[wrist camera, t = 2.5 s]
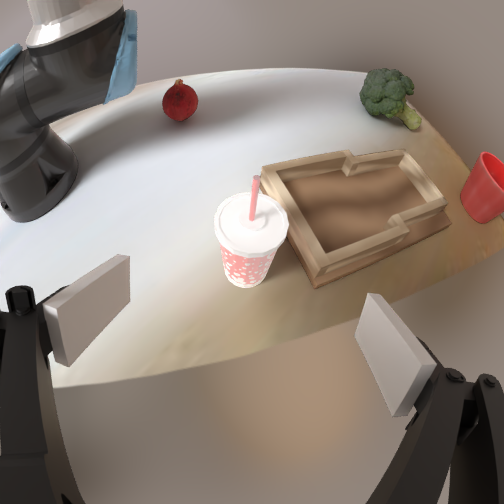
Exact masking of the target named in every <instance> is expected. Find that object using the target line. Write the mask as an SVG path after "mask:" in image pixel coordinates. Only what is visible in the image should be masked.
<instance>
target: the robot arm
mask: <svg viewBox="0 0 504 504" xmlns="http://www.w3.org/2000/svg"><path fill="white" fill-rule="evenodd" d="M27 2H28V6H29V10H30V13H31V16H32V20H33V23H34V24H33V27H32V29H31V31H30V33H29V35H28V37H27V39H26V46H27V48H28V49H26V50H24V51H22V46H20V44H14V45H13V46H11V47H10V48H8V49H7V50H5V51H4V52H3V53H1V54H0V203H1V206H2V208H3V210H4V211H5V212H6V214H7V215H8V216H9V217H10V218H11V219H12V220H13V221H15V222H28V221H31V220H34V219H36V218H38V217H40V216H42V215H43V214H45V213H46V212H48V211H49V210H50V209H52V208H53V207H54V206H55V205H56V204H57V203H58V202H59V201H60V200H61V199H62V198H63V197H64V195H65V194H66V193H67V192H68V190H69V189H70V187H71V185H72V184H73V182H74V180H75V177H76V175H77V171H78V162H77V159H76V157H75V154H74V152H73V150H72V149H71V147H70V146H69V145H68V144H67V143H66V142H64V141H63V140H62V139H61V138H60V137H59V136H58V135H57V134H56V133H55V132H54V131H53V130H52V129H51V128H50V126H49V124H50V123H52V122H55V121H57V120H59V119H62V118H64V117H67V116H69V115H72V114H74V113H77V112H79V111H82V110H85V109H88V108H90V107H93V106H96V105H99V104H102V103H103V105H104V104H106V103H108V102H109V101H111V100H114V99H117V98H120V97H123V96H125V95H128V94H129V93H131V91H132V90H133V89H134V88H135V85H136V82H137V12H136V11H135V10H129V9H128V10H125V12H124V8H123V1H122V0H27ZM5 295H6V300H7V305H8V309H9V312H2V311H0V440H1V456H0V504H85V502H84V500H83V498H82V496H81V494H80V492H79V489H78V487H77V484H76V481H75V478H74V475H73V472H72V469H71V466H70V463H69V460H68V456H67V453H66V449H65V445H64V441H63V437H62V433H61V429H60V425H59V420H58V415H57V410H56V405H55V399H54V393H53V386H52V379H51V371H50V362H49V359H48V354H49V353H50V352H51V351H52V350H53V354H54V358H55V361H56V362H57V363H60V364H62V365H64V366H67V367H70V366H71V365H72V364H73V363H74V361H75V360H76V359H77V358H78V357H79V356H80V355H81V354H82V352H83V351H84V350H85V349H86V348H87V347H88V346H89V345H90V344H91V342H92V341H93V340H94V339H95V338H96V337H97V336H98V335H99V334H100V333H101V332H102V331H103V329H104V328H105V327H106V326H107V325H108V324H109V323H110V322H111V321H112V320H113V319H114V318H115V317H116V316H117V315H118V314H119V312H120V311H121V310H122V309H123V308H124V307H125V306H126V305H127V304H128V303H129V302H130V256H125V255H119V254H117V255H116V256H114V257H113V258H111V259H109V260H108V261H106V262H105V263H103V264H101V265H100V266H98V267H97V268H95V269H94V270H92V271H90V272H89V273H87V274H86V275H84V276H83V277H81V278H80V279H78V280H77V281H75V282H74V283H72V284H71V285H68V286H65V287H62V288H60V289H59V290H57V291H56V292H55V293H53V294H51V295H50V297H49V296H48V297H47V298H45V299H44V300H42V301H41V302H40V303H38V304H37V305H36V303H35V297H34V291H33V289H32V288H31V287H29V286H15V287H12V288H10V289H9V290H7V292H6V293H5ZM354 336H355V338H356V340H357V342H358V344H359V346H360V349H361V351H362V353H363V355H364V357H365V359H366V361H367V363H368V365H369V367H370V369H371V371H372V373H373V376H374V378H375V380H376V382H377V384H378V386H379V389H380V391H381V393H382V395H383V397H384V400H385V402H386V404H387V406H388V408H389V411H390V413H391V415H392V417H398V416H407V415H408V413H409V412H410V410H411V409H412V407H413V405H414V407H415V408H416V410H417V412H416V413H415V415H414V417H413V418H412V419H411V421H410V422H409V424H408V425H407V427H406V428H405V430H407V432H406V434H405V436H404V438H403V440H402V442H401V444H400V446H399V448H398V450H397V452H396V454H395V456H394V458H393V460H392V461H391V463H390V465H389V467H388V469H387V471H386V472H385V474H384V476H383V477H382V479H381V481H380V482H379V484H378V485H377V487H376V489H375V490H374V492H373V493H372V495H371V497H370V498H369V500H368V501H367V503H366V504H437V502H438V499H439V497H440V494H441V491H442V488H443V485H444V482H445V479H446V476H447V473H448V470H449V467H450V487H449V501H448V504H504V393H503V390H502V387H501V385H500V383H499V381H498V380H497V379H496V378H495V377H493V376H492V375H489V374H481V375H480V376H479V377H478V379H477V381H476V382H475V383H471V382H466V379H465V377H464V376H463V375H462V374H461V373H460V372H459V371H457V370H455V369H452V368H444V367H443V366H442V364H441V363H440V362H439V361H438V359H437V358H436V357H435V355H433V353H432V352H431V350H429V348H428V347H427V345H426V344H425V343H424V342H423V341H421V340H420V339H419V338H418V337H415V336H414V334H413V333H412V332H411V331H410V329H409V328H408V327H407V326H406V325H405V323H404V322H403V321H402V320H401V319H400V317H399V316H398V315H397V314H396V312H395V311H394V310H393V309H392V308H391V307H390V305H389V304H388V303H387V302H386V301H385V300H384V298H383V297H382V296H381V295H380V294H375V293H368V294H367V297H366V301H365V304H364V307H363V310H362V313H361V316H360V319H359V323H358V326H357V328H356V331H355V334H354ZM477 422H478V423H477Z"/></svg>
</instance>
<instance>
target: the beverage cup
mask: <svg viewBox="0 0 504 504" xmlns="http://www.w3.org/2000/svg"><path fill="white" fill-rule="evenodd" d="M259 184H260V176H258V175H255V176H254V177H253V185H252V192H245V193H238V194H236V195H233V196H231V197H228V198H227V199H226V200H225V201H224V202H223V203H221V204H220V205H219V207H218V209H217V211H216V214H215V216H214V224H215V234H216V236H217V238H218V239H219V241H220V246H221V252H222V258H223V264H224V269H225V274H226V276H227V278H228V279H229V281H230V282H232V283H233V284H234V285H236V286H239V287H243V288H249V287H254V286H256V285H258V284H260V283H261V281H262V280H263V279H264V278H265V276H266V274H267V272H268V269H269V267H270V265H271V262H272V260H273V258H274V256H275V253H276V251H277V249H278V248H279V246H280V245H281V244H282V243H283V242H284V239H285V238H286V234H287V230H288V226H289V223H288V218H287V214H286V212H285V210H284V209H283V208H282V206H281V205H280V204H279V203H278V202H277V201H275V200H274V199H272V198H271V197H269V196H267V195H264V194H260V193H258V192H259Z"/></svg>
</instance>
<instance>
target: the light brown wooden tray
mask: <svg viewBox="0 0 504 504" xmlns="http://www.w3.org/2000/svg"><path fill="white" fill-rule="evenodd" d="M259 187H260V189H261V191H262V193H263V194H264V195H267V196H269V197H271V198H272V199H274V200H275V201H277V202H278V203H279V204H280V205H281V206H282V208H283V209H284V210H285V212H286V214H287V218H288V223H289V226H288V230H287V234H286V236H287V238H288V240H289V242H290V243H291V245H292V247H293V249H294V251H295V253H296V255H297V257H298V258H299V260H300V262H301V264H302V266H303V268H304V270H305V272H306V274H307V276H308V277H309V279H310V281H311V283H312V285H313V287H314V289H316V288H319V287H321V286H324V285H326V284H328V283H331V282H333V281H335V280H338V279H340V278H342V277H344V276H347V275H349V274H351V273H354V272H356V271H358V270H360V269H363V268H365V267H367V266H369V265H371V264H374V263H376V262H378V261H380V260H382V259H384V258H387V257H389V256H391V255H393V254H395V253H397V252H399V251H401V250H403V249H405V248H408V247H410V246H412V245H414V244H416V243H418V242H420V241H422V240H424V239H426V238H428V237H430V236H432V235H434V234H436V233H438V232H440V231H441V230H443V229H445V228H447V227H449V225H450V224H451V223H452V222H451V221H450V220H449V218H448V217H447V215H446V214H445V212H444V211H443V209H444V208H445V206H446V205H447V204H448V202H447V200H446V199H445V198H444V196H443V195H442V194H441V192H440V191H439V190H438V188H437V187H436V186H435V185H434V183H433V182H432V181H431V180H430V178H429V177H428V176H427V175H426V173H425V172H424V171H423V170H422V168H421V167H420V166H419V165H418V164H417V163H416V161H415V160H414V159H413V158H412V157H411V156H410V154H409V153H408V152H407V151H406V150H405V149H400V150H391V151H384V152H378V153H371V154H365V155H359V156H353V154H352V153H351V152H350V151H349V150H344V151H337V152H332V153H326V154H320V155H315V156H309V157H304V158H299V159H294V160H289V161H285V162H280V163H275V164H271V165H266V166H262V171H261V176H260V184H259Z"/></svg>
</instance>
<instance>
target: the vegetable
mask: <svg viewBox="0 0 504 504" xmlns="http://www.w3.org/2000/svg"><path fill="white" fill-rule="evenodd" d="M413 89H414V84H413V83H412V81H411V79H410V78H408V77H407V76H404V75H403V74H402V73H401V72H399V71H398V70H396V69H394V70H389V69H386V68H383V69H378V70H377V69H376V70H372V71H370V72H369V73H368V75H367V77H366V79H365V81H364V86H363V87H362V90H361V92H360V93H359V94H360V99H361V101H362V104H363V105H365V108H366V110H367V111H368V112H369V114H370V115H373V116H376V115H380V114H385V116H386V117H387V118H392V117H393V116H396V117H399V118H400V119H401V120H402V121H403V123H404V124H406V125H407V127H408V128H409V129H410V130H414V129H417V128H418V127H419V125H420V123H421V118H420V117H419V116H418V115H417V114H416V112H415V110H412V109H411V108H410V107H408V106H407V104H406V99H405V95H406V94H407V95H413V93H414V92H413V91H412V90H413Z"/></svg>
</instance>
